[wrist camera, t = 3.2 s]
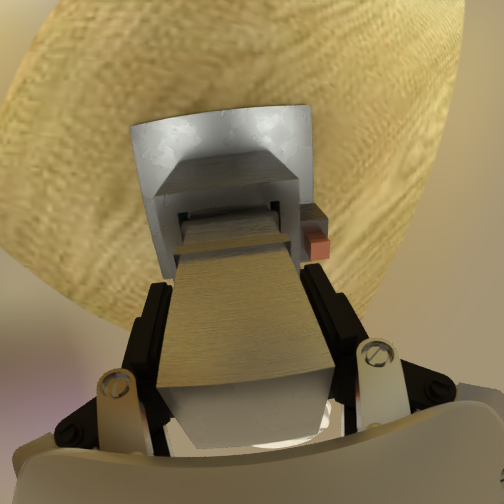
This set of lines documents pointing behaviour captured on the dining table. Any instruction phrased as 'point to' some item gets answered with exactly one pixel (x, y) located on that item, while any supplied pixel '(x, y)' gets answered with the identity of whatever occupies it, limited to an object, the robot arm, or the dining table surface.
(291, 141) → the stand base
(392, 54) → the dining table surface
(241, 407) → the column
